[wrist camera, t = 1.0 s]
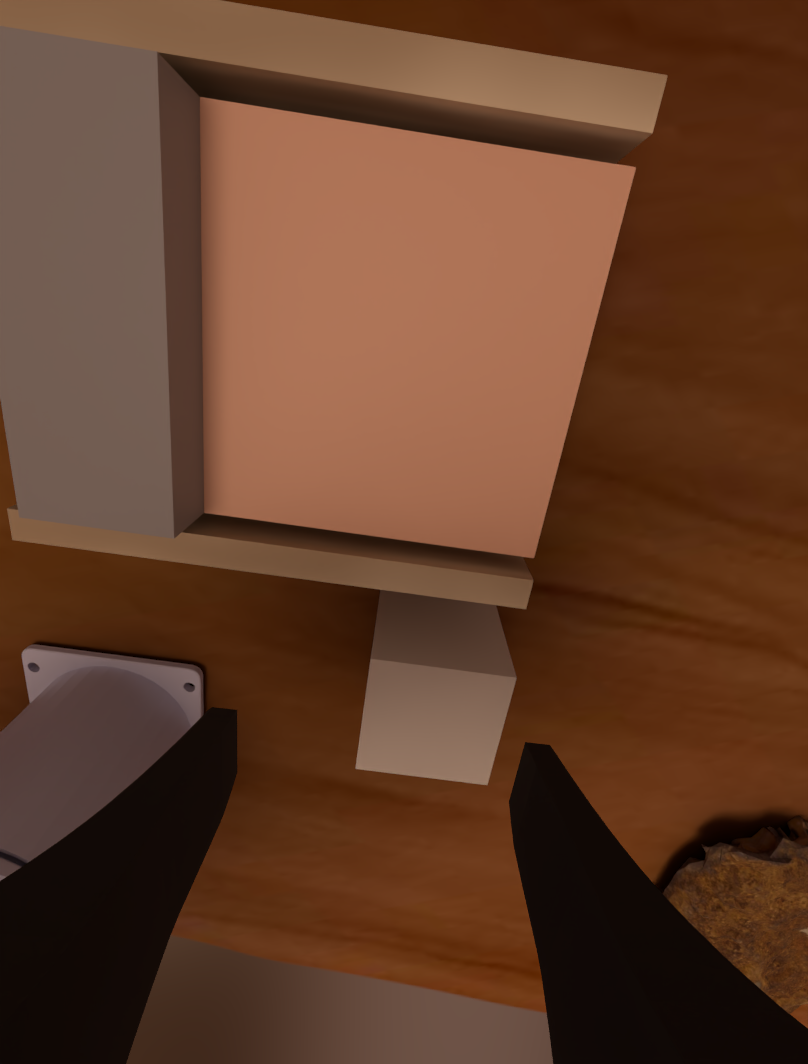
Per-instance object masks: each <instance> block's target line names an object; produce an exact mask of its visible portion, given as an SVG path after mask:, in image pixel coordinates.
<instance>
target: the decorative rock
mask: <svg viewBox="0 0 808 1064" xmlns="http://www.w3.org/2000/svg"><path fill="white" fill-rule="evenodd" d="M787 824H788V826H789V829H790V831H791V833H790V836H789V838H788V837H787V835H786V834H785V833H784V832H783V831H782V830H781V828H780V827H779V828H778V829H777V830H775V829H774V828H772V827H767V828H768V829H769V830H770V831H768V830H767V829H766V828H764V827H763V828H762V829H761V830H759V831H758V832H757V833H756V834H755V835H754V836H753V837H751V838H747V837H746V838H738V839H734V840H732V843H731V844H730V845H728V844H724V843H721V842H720V843H718V844H716V845H714V846H712V847H707V846H705V845H703V844H702V847H703V848H704V850H705V852H706V857H705V860H701V859H696V858H692V857H689V858H688V860H687V861H686V862H685V863H684V864H683V865H682V866H681V867H680V869H679V870H678V871H677V872H676V874H675V875H674V877H673V879H672V880H671V882H670V884H669V885H668V886H667V888H666V889H665V890H664V892H663V895H664V896H665V897H666V898H667V899H668V900H669V901H670V902H671V903H672V905H673V906H674V907H675V908H676V909H677V910H678V911H679V912H680V913H681V914H682V915H683V916H684V917H685V918H686V919H687V920H688V921H689V922H690V923H691V924H692V925H693V926H694V927H695V928H696V929H697V930H698V931H699V932H700V933H701V934H702V935H703V936H704V937H705V938H706V939H707V940H708V941H709V942H710V943H711V944H712V945H713V946H714V947H715V948H716V949H717V950H718V951H719V952H720V953H721V954H722V955H723V956H724V957H726V958H727V959H728V960H729V961H730V962H731V963H732V964H733V965H734V966H735V967H736V968H737V969H739V970H740V971H741V972H742V973H743V974H744V975H745V976H746V977H747V978H748V979H750V980H751V981H752V982H753V983H754V984H755V985H756V986H758V987H759V988H760V989H761V990H762V991H763V992H764V993H766V994H767V995H768V996H769V997H770V998H771V999H772V1000H774V1001H775V1002H776V1003H777V1004H778V1005H779V1006H780V1007H782V1008H783V1009H784V1010H785V1011H786V1012H788V1013H789V1014H790V1013H792V1012H793V1011H794V1010H795V1009H797V1008H798V1007H799V1006H801V1005H803V1004H808V822H807V821H805V820H804V819H803V818H801V817H800V816H796V817H795V818H793V819H791V820H790V821H788V822H787Z"/></svg>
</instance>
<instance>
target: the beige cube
mask: <svg viewBox="0 0 808 1064" xmlns="http://www.w3.org/2000/svg"><path fill="white" fill-rule="evenodd" d="M516 678H517V677H516V674H515V670H514V667H513V663H512V660H511V656H510V653H509V649H508V646H507V642H506V639H505V635H504V631H503V628H502V624H501V621H500V617H499V614H498V610H497V607H496V605H490V604H483V603H476V602H468V601H461V600H453V599H446V598H439V597H431V596H424V595H416V594H409V593H402V592H394V591H387V590H380V596H379V603H378V610H377V617H376V624H375V631H374V638H373V645H372V652H371V659H370V667H369V674H368V681H367V688H366V696H365V703H364V710H363V717H362V725H361V732H360V739H359V746H358V754H357V761H356V768H355V769H361V770H369V771H377V772H385V773H393V774H402V775H410V776H418V777H426V778H434V779H442V780H450V781H458V782H466V783H474V784H482V785H487V784H488V780H489V777H490V773H491V770H492V766H493V762H494V759H495V755H496V751H497V748H498V744H499V740H500V737H501V733H502V729H503V726H504V722H505V718H506V715H507V711H508V708H509V704H510V700H511V697H512V693H513V689H514V686H515V682H516Z"/></svg>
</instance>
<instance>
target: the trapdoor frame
mask: <svg viewBox="0 0 808 1064" xmlns="http://www.w3.org/2000/svg"><path fill="white" fill-rule="evenodd" d="M0 26H5V27H11V28H17V29H23V30H29V31H35V32H41V33H48V34H54V35H60V36H66V37H72V38H78V39H84V40H90V41H96V42H102V43H108V44H115V45H121V46H127V47H133V48H139V49H145V50H151V51H157V52H158V53H159V54H160V55H161V56H162V57H163V58H164V59H165V60H166V61H167V63H168V64H169V65H170V66H171V67H172V68H173V69H174V70H175V71H176V72H177V73H178V74H179V75H180V76H181V77H182V78H183V80H184V81H185V82H186V83H187V84H188V85H189V86H190V87H191V88H192V89H193V90H194V91H195V92H196V93H197V94H198V95H199V97H204V98H210V99H216V100H222V101H229V102H235V103H241V104H247V105H253V106H260V107H266V108H272V109H278V110H284V111H290V112H297V113H303V114H309V115H315V116H321V117H328V118H334V119H340V120H346V121H352V122H358V123H365V124H371V125H377V126H383V127H389V128H395V129H402V130H408V131H414V132H420V133H426V134H433V135H439V136H445V137H451V138H457V139H463V140H470V141H476V142H482V143H488V144H494V145H501V146H507V147H513V148H519V149H525V150H531V151H538V152H544V153H550V154H556V155H562V156H569V157H575V158H581V159H587V160H593V161H599V162H606V163H612V164H616V163H617V162H618V161H620V160H621V159H622V158H623V157H624V156H626V155H627V154H628V153H629V152H630V151H632V150H633V149H634V148H635V147H636V146H638V145H639V144H640V143H641V142H642V141H644V140H645V139H646V138H647V137H648V136H650V135H651V134H652V133H653V129H654V125H655V121H656V118H657V114H658V110H659V106H660V103H661V99H662V95H663V91H664V88H665V84H666V80H667V76H668V75H663V74H657V73H651V72H645V71H639V70H633V69H627V68H621V67H615V66H609V65H603V64H597V63H591V62H585V61H579V60H573V59H567V58H561V57H555V56H549V55H543V54H537V53H531V52H525V51H519V50H513V49H508V48H502V47H496V46H490V45H484V44H478V43H472V42H466V41H460V40H454V39H448V38H442V37H436V36H430V35H424V34H418V33H412V32H406V31H400V30H394V29H388V28H382V27H376V26H370V25H364V24H358V23H352V22H346V21H340V20H334V19H328V18H322V17H316V16H311V15H305V14H299V13H293V12H287V11H281V10H275V9H269V8H263V7H257V6H251V5H245V4H239V3H233V2H227V1H221V0H0ZM7 511H8V517H9V523H10V529H11V535H12V540H17V541H24V542H31V543H39V544H46V545H54V546H61V547H69V548H76V549H83V550H91V551H98V552H106V553H113V554H120V555H128V556H135V557H143V558H150V559H157V560H165V561H172V562H180V563H187V564H194V565H202V566H209V567H217V568H224V569H231V570H239V571H246V572H254V573H261V574H268V575H276V576H283V577H291V578H298V579H305V580H313V581H320V582H328V583H335V584H342V585H350V586H357V587H365V588H372V589H379V590H387V591H394V592H402V593H409V594H416V595H424V596H431V597H439V598H446V599H453V600H461V601H468V602H476V603H483V604H490V605H498V606H505V607H513V608H520V609H526V607H527V604H528V600H529V596H530V592H531V589H532V585H533V581H534V580H533V578H532V576H531V574H530V571H529V569H528V567H527V565H526V563H525V561H524V558H523V557H521V556H514V555H506V554H499V553H492V552H485V551H477V550H470V549H463V548H456V547H448V546H441V545H434V544H427V543H419V542H412V541H405V540H398V539H390V538H383V537H376V536H369V535H361V534H354V533H347V532H340V531H333V530H325V529H318V528H311V527H304V526H296V525H289V524H282V523H275V522H267V521H260V520H253V519H246V518H238V517H231V516H224V515H217V514H209V513H203V514H202V515H201V516H200V517H199V518H198V519H196V520H195V521H194V522H193V523H192V524H191V525H189V526H188V527H187V528H186V529H185V530H184V531H182V532H181V533H180V534H179V535H178V536H177V537H176V538H174V539H173V538H165V537H158V536H151V535H143V534H136V533H129V532H121V531H114V530H107V529H99V528H92V527H85V526H77V525H70V524H63V523H55V522H48V521H41V520H33V519H26V518H19V513H18V507H17V504H16V505H14V506H12V507H9V508H7Z"/></svg>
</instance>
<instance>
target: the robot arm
mask: <svg viewBox="0 0 808 1064" xmlns="http://www.w3.org/2000/svg"><path fill="white" fill-rule="evenodd" d="M22 661H23V667H24V673H25V678H26V684H27V690H28V695H29V701H30V704H29V705H28V706H27V707H26V708H25V709H24V710H23V711H22V712H21V713H20V714H19V715H18V716H17V717H16V718H15V719H14V720H13V721H12V722H11V723H10V724H9V725H8V726H7V727H6V728H4V729H3V730H2V731H1V732H0V1064H126V1062H127V1059H128V1056H129V1053H130V1050H131V1047H132V1044H133V1041H134V1038H135V1035H136V1032H137V1029H138V1026H139V1023H140V1020H141V1017H142V1014H143V1012H144V1009H145V1006H146V1003H147V1000H148V997H149V994H150V991H151V988H152V985H153V983H154V980H155V977H156V974H157V971H158V968H159V965H160V963H161V960H162V957H163V954H164V951H165V949H166V946H167V943H168V940H169V937H170V935H171V933H172V930H173V928H174V925H175V923H176V920H177V918H178V915H179V913H180V911H181V909H182V906H183V904H184V902H185V900H186V897H187V895H188V893H189V891H190V889H191V886H192V884H193V882H194V880H195V877H196V875H197V873H198V871H199V869H200V866H201V864H202V862H203V860H204V857H205V855H206V853H207V851H208V848H209V846H210V844H211V842H212V839H213V837H214V835H215V833H216V830H217V828H218V826H219V824H220V821H221V819H222V817H223V814H224V811H225V808H226V805H227V802H228V799H229V796H230V793H231V790H232V787H233V784H234V781H235V777H236V774H237V710H231V709H222V708H214V707H212V708H211V709H209V710H208V711H207V712H206V713H205V714H204V700H203V672H202V670H201V669H200V668H199V667H197V666H195V665H191V664H183V663H175V662H168V661H160V660H152V659H145V658H137V657H129V656H121V655H114V654H106V653H98V652H90V651H83V650H75V649H67V648H60V647H52V646H44V645H36V644H35V645H30V646H28V647H27V648H26V649H25V650H23V652H22ZM35 663H36V664H37V665H38V666H37V665H36V664H35ZM188 683H192V684H193V685H194V686H190V685H189V684H188ZM509 806H510V816H511V826H512V834H513V843H514V849H515V854H516V858H517V863H518V868H519V872H520V877H521V881H522V886H523V890H524V895H525V899H526V904H527V908H528V913H529V917H530V922H531V926H532V931H533V935H534V939H535V944H536V948H537V953H538V959H539V964H540V969H541V975H542V981H543V989H544V996H545V1003H546V1010H547V1018H548V1024H549V1032H550V1040H551V1048H552V1056H553V1064H808V1029H807V1028H806V1027H805V1026H804V1025H802V1024H801V1023H800V1022H799V1021H797V1020H796V1019H795V1018H794V1017H793V1016H791V1015H790V1014H789V1013H788V1012H786V1011H785V1010H784V1009H783V1008H782V1007H780V1006H779V1005H778V1004H777V1003H776V1002H775V1001H774V1000H772V999H771V998H770V997H769V996H768V995H767V994H766V993H764V992H763V991H762V990H761V989H760V988H759V987H758V986H756V985H755V984H754V983H753V982H752V981H751V980H750V979H748V978H747V977H746V976H745V975H744V974H743V973H742V972H741V971H740V970H739V969H737V968H736V967H735V966H734V965H733V964H732V963H731V962H730V961H729V960H728V959H727V958H726V957H724V956H723V955H722V954H721V953H720V952H719V951H718V950H717V949H716V948H715V947H714V946H713V945H712V944H711V943H710V942H709V941H708V940H707V939H706V938H705V937H704V936H703V935H702V934H701V933H700V932H699V931H698V930H697V929H696V928H695V927H694V926H693V925H692V924H691V923H690V922H689V921H688V920H687V919H686V918H685V917H684V916H683V915H682V914H681V913H680V912H679V911H678V910H677V909H676V908H675V907H674V906H673V905H672V903H671V902H670V901H669V900H668V899H667V898H666V897H665V896H664V895H663V894H662V892H661V891H660V890H659V889H658V888H657V887H656V886H655V885H654V884H653V883H652V882H651V880H650V879H649V878H648V877H647V876H646V875H645V874H644V872H643V871H642V870H641V869H640V868H639V866H638V865H637V864H636V863H635V862H634V860H633V859H632V858H631V857H630V855H629V854H628V853H627V852H626V850H625V849H624V848H623V847H622V845H621V844H620V843H619V842H618V840H617V839H616V838H615V836H614V835H613V834H612V833H611V831H610V830H609V829H608V827H607V826H606V825H605V823H604V822H603V821H602V819H601V818H600V816H599V815H598V814H597V812H596V811H595V810H594V808H593V807H592V806H591V804H590V803H589V801H588V800H587V799H586V797H585V796H584V794H583V793H582V791H581V790H580V789H579V787H578V786H577V784H576V783H575V781H574V780H573V778H572V777H571V776H570V774H569V773H568V771H567V770H566V768H565V767H564V765H563V764H562V762H561V761H560V759H559V758H558V756H557V755H556V753H555V752H554V750H553V749H552V748H551V746H550V745H545V744H536V743H527V742H525V745H524V749H523V753H522V756H521V760H520V764H519V767H518V771H517V775H516V778H515V782H514V786H513V789H512V793H511V797H510V800H509Z"/></svg>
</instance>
